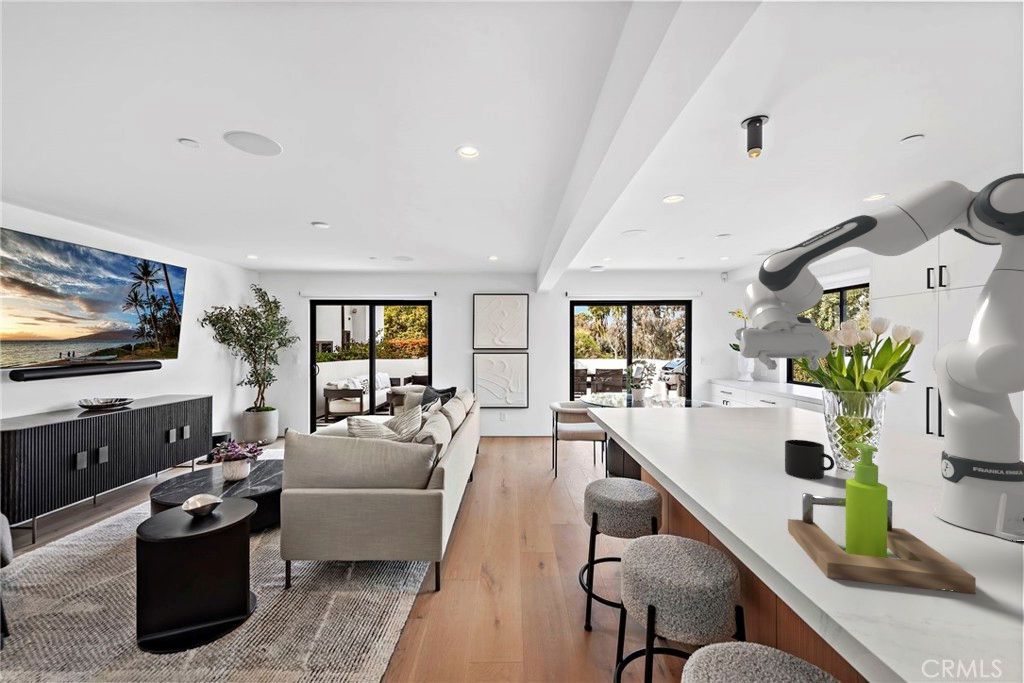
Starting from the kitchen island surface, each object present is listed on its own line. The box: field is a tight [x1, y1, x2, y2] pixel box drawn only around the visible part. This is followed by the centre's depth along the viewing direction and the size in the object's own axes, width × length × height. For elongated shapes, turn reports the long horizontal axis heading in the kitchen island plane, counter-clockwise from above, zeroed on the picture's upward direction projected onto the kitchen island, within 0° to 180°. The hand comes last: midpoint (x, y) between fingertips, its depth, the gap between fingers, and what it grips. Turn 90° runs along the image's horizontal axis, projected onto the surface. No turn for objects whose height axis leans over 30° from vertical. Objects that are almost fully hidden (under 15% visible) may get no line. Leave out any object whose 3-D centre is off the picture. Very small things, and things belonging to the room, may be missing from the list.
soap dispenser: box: [844, 442, 888, 558], centre depth 81 cm, size 6×7×20 cm
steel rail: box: [801, 492, 893, 531], centre depth 87 cm, size 15×2×6 cm, turn 76°
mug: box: [784, 439, 835, 480], centre depth 127 cm, size 9×12×9 cm
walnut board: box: [787, 518, 977, 595], centre depth 80 cm, size 20×18×2 cm
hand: (793, 368), depth 106 cm, fingers open, 8 cm apart
